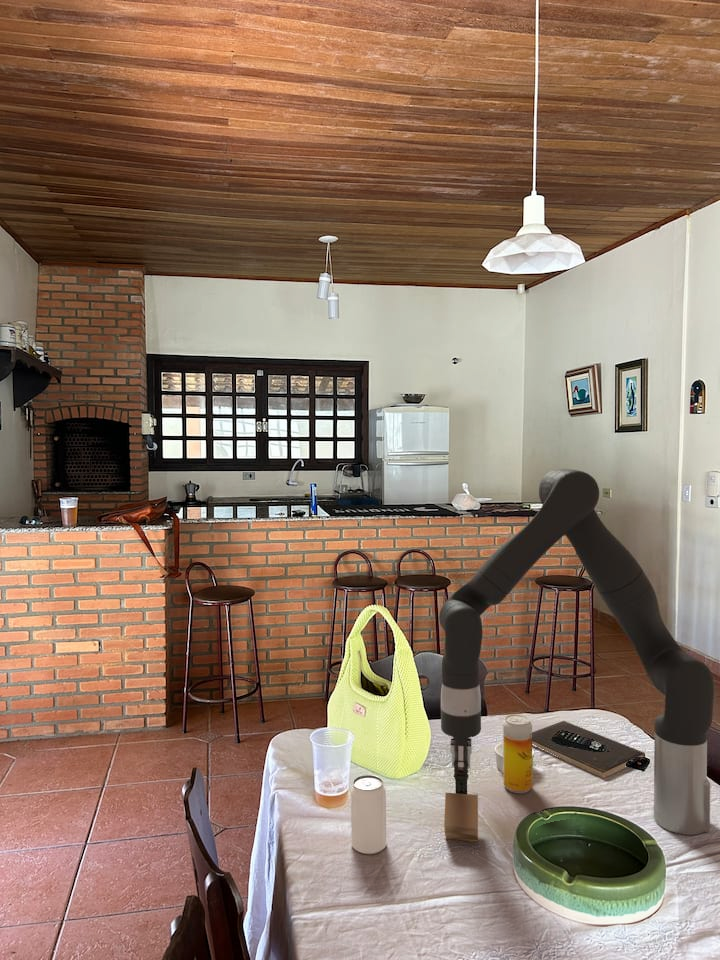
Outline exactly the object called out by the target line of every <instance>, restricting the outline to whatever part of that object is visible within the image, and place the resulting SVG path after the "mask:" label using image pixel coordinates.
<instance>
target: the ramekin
mask: <svg viewBox="0 0 720 960" xmlns="http://www.w3.org/2000/svg"><path fill="white" fill-rule="evenodd" d="M494 752H495V761H496V762H495V763H496V767H497V769H498V770H499V771H500V772H501V773H503V742H500V743H498V744H496V745H495V747H494ZM534 756H535V750H534V748H532V767H533V764H534Z"/></svg>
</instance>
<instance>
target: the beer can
mask: <svg viewBox="0 0 720 960" xmlns="http://www.w3.org/2000/svg"><path fill="white" fill-rule="evenodd" d="M532 732H533V724H532V721H531V718H529V717H528V716H525V715H522V714H508V715H506V716H504V720H503V721H502V743H503V772H502V778H503V779H502V781H503V786H505V788H506V789H507V791H508V792H511V793H514V794H526V793H528V792H529V791H530V789H531V788H532V787H533V766H532V749H533V746H532Z"/></svg>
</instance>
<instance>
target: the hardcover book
mask: <svg viewBox="0 0 720 960" xmlns="http://www.w3.org/2000/svg"><path fill="white" fill-rule="evenodd" d="M562 730H563V731H568V732H571V733H574V734H577V735H579V736H583V737H586V738H589V739H593V740H594V741H596V742H599V743H601V744H603V745H605V746H604V747H605V749H606V752H593V751H588V750H583V749H582V750H581V749H578V748H573V747H567V746H563V745H562V746H561V745H559V744H556V743H555V742H553V741H552V740H551V739H552V737H553V736H554V735H555V734H556V733H557V732H558V731H562ZM599 743H598V744H599ZM532 744H534V745H536V746H537V747H540V748H541V749H544V750H546V751H548V752H550V753H552V754H554V755H556V756H558V757H560V758H562V759H561V760H563V759H564V760H563V761H565V760H566V761H565V762H567V763H570V764H571V765H573V766H576V767H578V768H580V769H583V770H585V771H586V772H589V773H591V774H593V775H595V776H598V777H600V778H603V779H604V778H607V777H609V776H611V775H613V774H615V773H617V772H619V771H621V770H624V769H625V768H627V767H625V766H626V763H627V762H628V761H630V760H632V759H634V758H636V757H645V758H646V753H645V751H641V750H639V749H636V748H634V747H631V746H629V745H626V744H623V743H621V742H619V741H616V740H613V739H611V738H608V737H606V736H603V735H601V734H598V733H596V732H593V731H592V730H588V729H586V728H584V727H581V726H579V725H576V724H574V723H570V722H568V721H566V720H561V721H559V722H557V723H554V724H551V725H549V726H546V727H543V728H540V729H537V730H535V731H532ZM606 745H608V746H607V747H606ZM612 748H613V749H612ZM541 749H540V750H541ZM607 751H609V752H607ZM552 754H551V755H552ZM554 755H553V756H554ZM556 756H555V757H556ZM558 757H557V758H558ZM560 758H559V759H560Z"/></svg>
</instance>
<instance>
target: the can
mask: <svg viewBox="0 0 720 960" xmlns="http://www.w3.org/2000/svg"><path fill="white" fill-rule="evenodd" d="M386 793H387V791H386V788H385V785H384V781H383V779H382V778H381V777H380V776H377V775H374V774H364V775H360V776H356V778H354V779H353V781H352V786H351V790H350V823H351V824H350V827H351V828H350V829H351V831H350V832H351V833H350V835H351V847H352V848H353V849H354V850H355V851H356V852H357V853H360V854H363V855H376V854H378V853H380V852H382V851H383V850H384V849H386V846H387V797H386V796H387V795H386Z"/></svg>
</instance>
